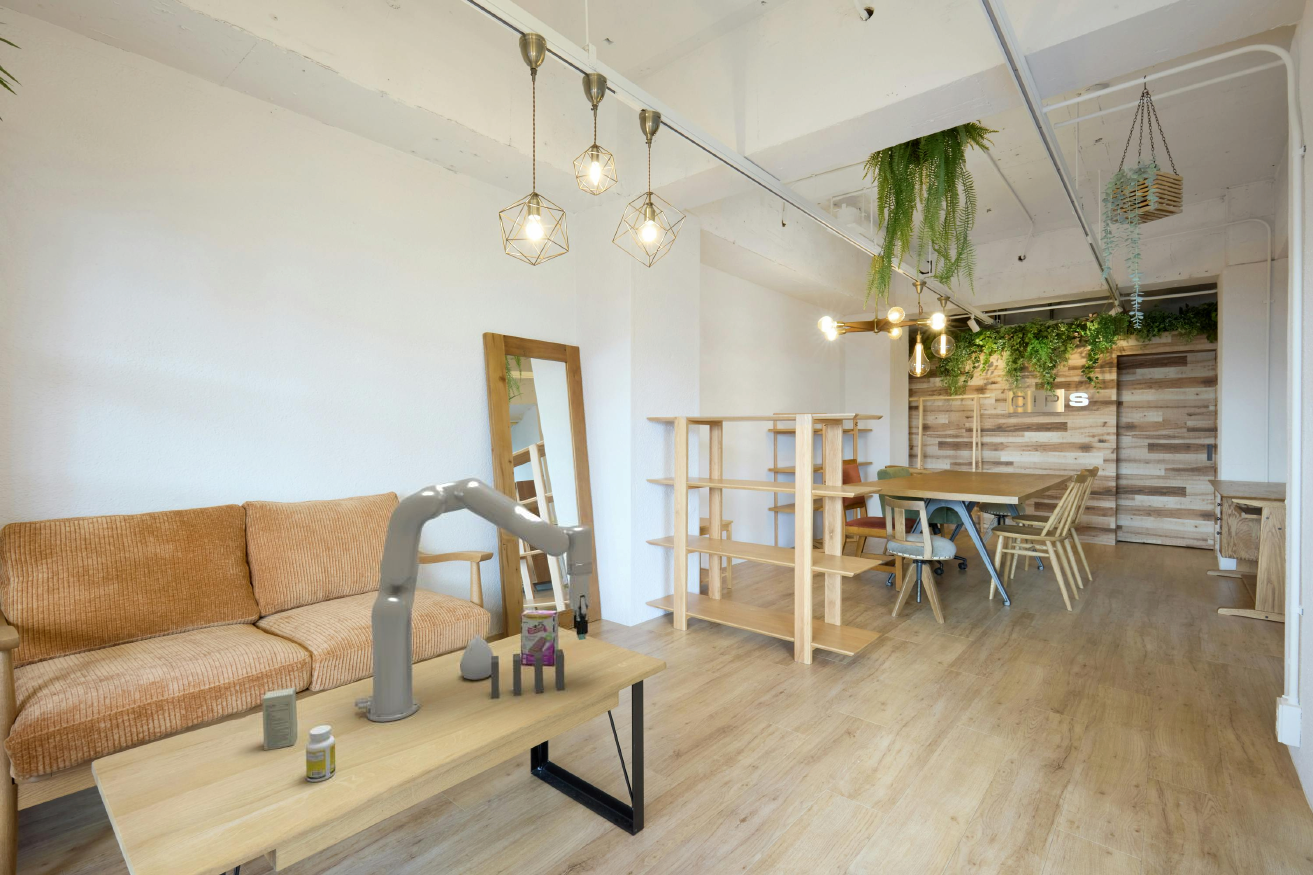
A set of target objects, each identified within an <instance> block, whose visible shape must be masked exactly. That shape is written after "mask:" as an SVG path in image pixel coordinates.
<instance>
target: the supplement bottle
mask: <svg viewBox="0 0 1313 875" xmlns="http://www.w3.org/2000/svg"><path fill="white" fill-rule="evenodd" d="M305 760H306V761H305V762H306V763H305V766H306V773H305V774H306V780H307V781H309V782H310V783H311V782H312V783H316V782H317V783H318V782H322V781H325V780H327V779H329V778H331V777H333V776H334V774H335V773H336V739H335V737H334V736H333V735H332V727H331V725H328V724H327V725H323V724H322V725H319V726H316V727H313V728H312V729H311V730H309V740H308V741H307V743H306V746H305Z"/></svg>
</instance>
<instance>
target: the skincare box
mask: <svg viewBox="0 0 1313 875" xmlns="http://www.w3.org/2000/svg"><path fill="white" fill-rule="evenodd" d="M261 699H262V701H261V702H262V704H261V705H262V727H263V728H262V729H263V750H264V751H268V750H274V749H279V748H285V747H291V746H294V745H295V744H296V742H297V739H298V718H297V717H298V716H297V714H298V713H297V691H296V687H290V688H289V687H288V688H282V689H277V690H271V691H266V693H265V694H264V695H263V697H262V698H261Z"/></svg>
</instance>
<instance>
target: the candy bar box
mask: <svg viewBox="0 0 1313 875" xmlns="http://www.w3.org/2000/svg"><path fill="white" fill-rule="evenodd" d="M558 649H559V611H558V610H539V609H538V610H537V609H532V610H531V609H525V610H524V611H523V612H522V613H521V614H520V656H521V666H534V652H539V651H541V652H542V656H543V667H545V666H547V667H548V666H550V667H551V666H552V667H555V650H558Z"/></svg>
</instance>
